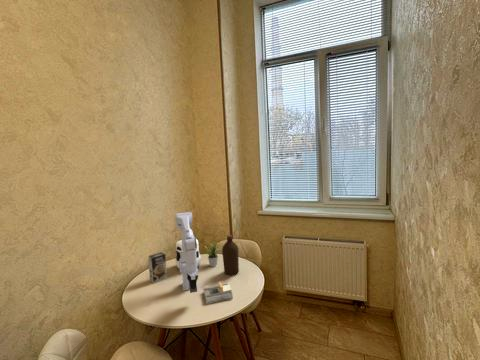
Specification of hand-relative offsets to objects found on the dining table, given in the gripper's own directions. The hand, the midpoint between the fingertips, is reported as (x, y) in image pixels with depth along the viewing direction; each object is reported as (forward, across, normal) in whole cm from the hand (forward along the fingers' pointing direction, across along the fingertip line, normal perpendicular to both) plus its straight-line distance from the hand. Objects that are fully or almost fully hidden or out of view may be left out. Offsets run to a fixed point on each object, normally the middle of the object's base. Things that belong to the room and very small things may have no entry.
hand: (193, 286), depth 132 cm
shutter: (+6, -3, +17) cm, 19 cm away
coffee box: (+9, -36, -19) cm, 41 cm away
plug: (+2, 0, 0) cm, 2 cm away
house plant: (+9, -43, +19) cm, 48 cm away
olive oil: (+9, -27, +27) cm, 39 cm away
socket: (+9, -3, +13) cm, 16 cm away
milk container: (+9, -48, +1) cm, 49 cm away
